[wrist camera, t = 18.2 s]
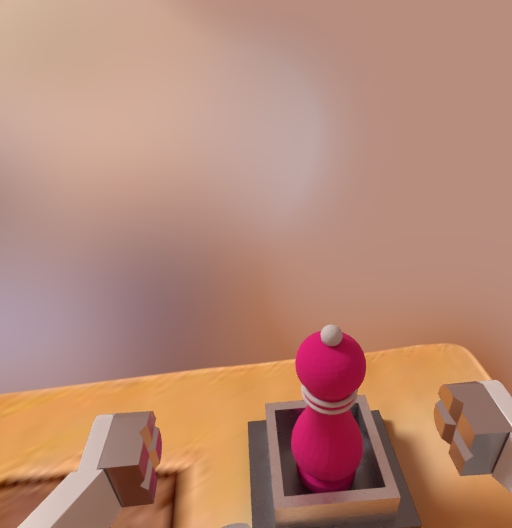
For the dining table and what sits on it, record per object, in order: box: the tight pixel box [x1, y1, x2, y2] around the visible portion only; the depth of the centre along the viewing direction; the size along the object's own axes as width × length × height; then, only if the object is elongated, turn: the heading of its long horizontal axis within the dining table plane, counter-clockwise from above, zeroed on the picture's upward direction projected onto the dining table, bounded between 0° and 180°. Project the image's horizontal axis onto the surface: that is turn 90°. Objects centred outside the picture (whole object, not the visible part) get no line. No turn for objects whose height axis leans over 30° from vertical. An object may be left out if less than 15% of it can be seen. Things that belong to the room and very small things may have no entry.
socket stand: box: [248, 395, 422, 528], centre depth 43 cm, size 16×13×6 cm
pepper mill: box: [291, 325, 366, 494], centre depth 38 cm, size 7×7×20 cm
